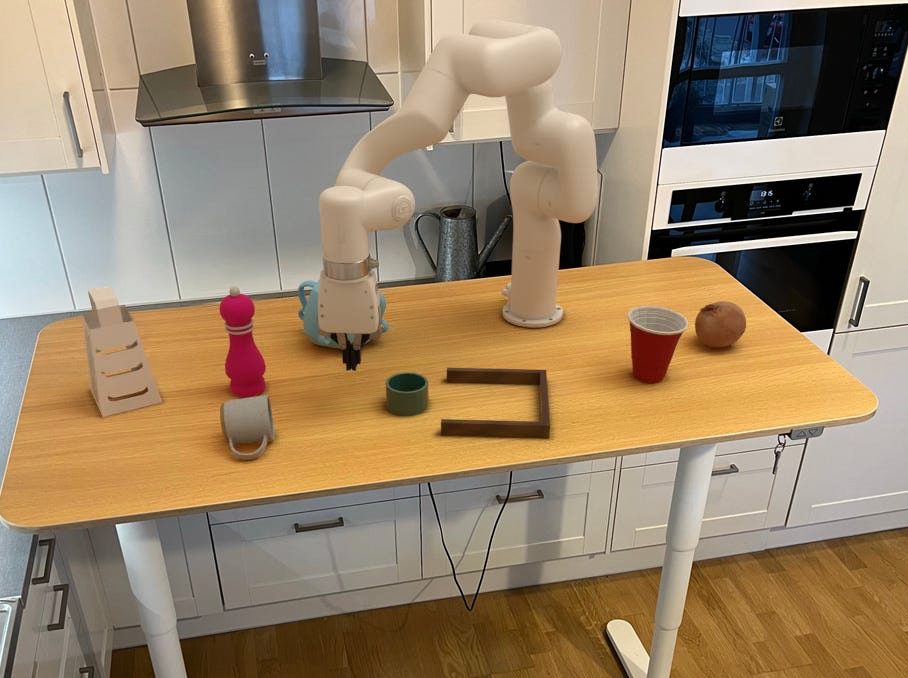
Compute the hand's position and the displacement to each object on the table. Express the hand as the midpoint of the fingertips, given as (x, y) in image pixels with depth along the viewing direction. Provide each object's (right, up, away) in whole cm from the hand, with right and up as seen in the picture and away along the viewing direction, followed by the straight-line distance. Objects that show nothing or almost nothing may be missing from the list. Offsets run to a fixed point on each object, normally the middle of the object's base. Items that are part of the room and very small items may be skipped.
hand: (352, 366), depth 160 cm
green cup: (+9, -6, +4) cm, 12 cm away
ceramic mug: (-16, -14, -6) cm, 22 cm away
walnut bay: (+24, -7, +3) cm, 26 cm away
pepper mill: (-20, -3, +9) cm, 22 cm away
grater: (-42, -5, +8) cm, 43 cm away
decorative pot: (-4, +9, +26) cm, 28 cm away
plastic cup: (+54, 0, +12) cm, 56 cm away
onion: (+70, +7, +22) cm, 74 cm away
